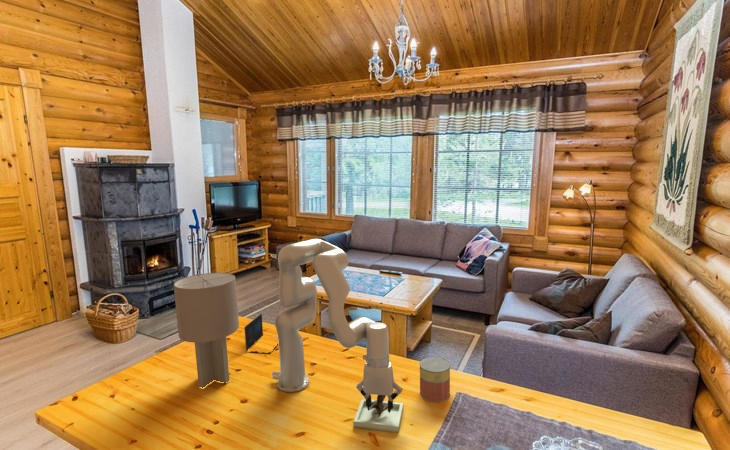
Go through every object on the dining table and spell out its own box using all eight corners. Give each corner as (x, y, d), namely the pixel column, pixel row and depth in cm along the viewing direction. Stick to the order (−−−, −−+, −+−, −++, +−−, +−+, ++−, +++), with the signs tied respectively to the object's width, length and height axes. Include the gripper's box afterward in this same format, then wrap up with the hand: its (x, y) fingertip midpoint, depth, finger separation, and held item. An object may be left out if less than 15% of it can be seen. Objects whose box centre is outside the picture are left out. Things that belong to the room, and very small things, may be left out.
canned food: (427, 382, 156) (427, 354, 154) (454, 391, 149) (454, 361, 148) (414, 396, 147) (414, 366, 145) (442, 406, 140) (442, 374, 138)
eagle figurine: (395, 413, 132) (393, 391, 140) (381, 402, 129) (380, 381, 137) (378, 424, 134) (376, 401, 142) (364, 413, 131) (363, 391, 139)
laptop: (270, 354, 184) (268, 328, 182) (245, 353, 186) (243, 327, 184) (285, 338, 201) (283, 314, 199) (262, 337, 204) (260, 313, 202)
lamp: (170, 389, 156) (159, 285, 150) (212, 362, 177) (204, 270, 171) (215, 400, 147) (205, 291, 141) (254, 371, 168) (247, 274, 162)
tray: (353, 427, 130) (353, 421, 130) (362, 404, 142) (362, 398, 142) (398, 432, 127) (398, 426, 126) (403, 408, 139) (403, 403, 139)
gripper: (350, 363, 130) (352, 413, 132) (402, 367, 126) (403, 418, 128) (355, 352, 137) (357, 400, 139) (405, 356, 133) (406, 405, 135)
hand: (379, 408), depth 134 cm, fingers closed on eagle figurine, 6 cm apart
